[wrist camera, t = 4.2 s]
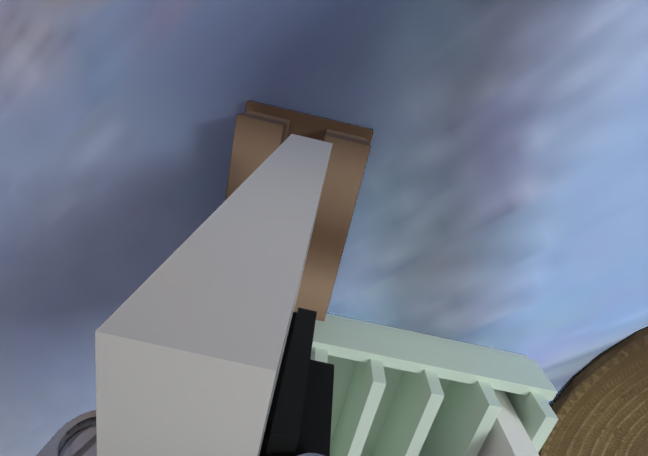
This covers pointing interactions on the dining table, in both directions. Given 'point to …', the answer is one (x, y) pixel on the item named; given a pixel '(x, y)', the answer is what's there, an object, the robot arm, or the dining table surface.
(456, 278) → the dining table surface
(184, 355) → the tall white panel
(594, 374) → the decorative disc
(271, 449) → the robot arm
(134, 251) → the dining table surface
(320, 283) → the stand
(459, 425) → the rack
